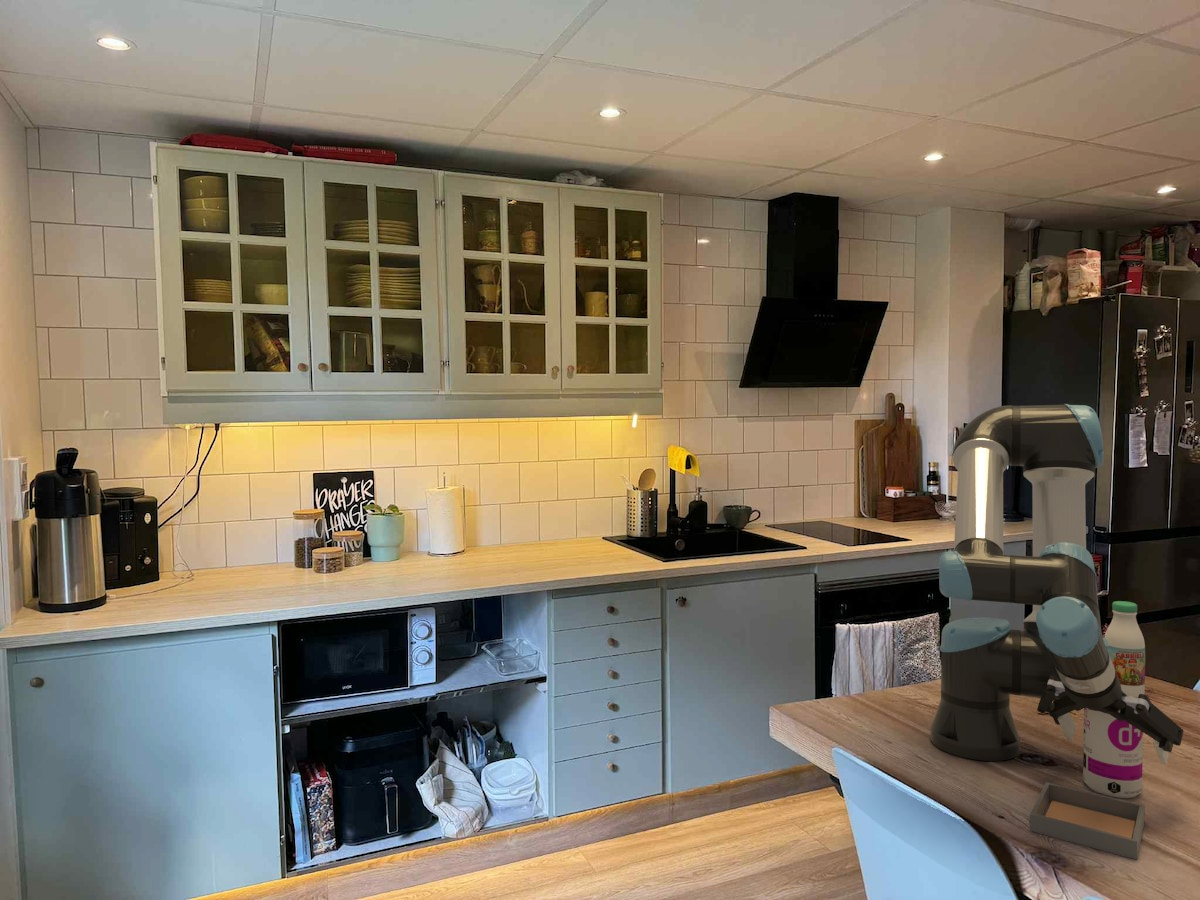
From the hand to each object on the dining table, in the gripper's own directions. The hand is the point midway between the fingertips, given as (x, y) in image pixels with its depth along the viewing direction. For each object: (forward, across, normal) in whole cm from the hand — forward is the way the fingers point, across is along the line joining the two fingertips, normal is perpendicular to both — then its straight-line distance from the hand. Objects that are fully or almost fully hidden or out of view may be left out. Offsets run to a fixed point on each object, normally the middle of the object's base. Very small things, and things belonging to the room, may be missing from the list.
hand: (1116, 744), depth 134 cm
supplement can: (+3, 0, -6) cm, 7 cm away
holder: (-9, +1, -18) cm, 20 cm away
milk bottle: (+41, -13, +32) cm, 54 cm away
